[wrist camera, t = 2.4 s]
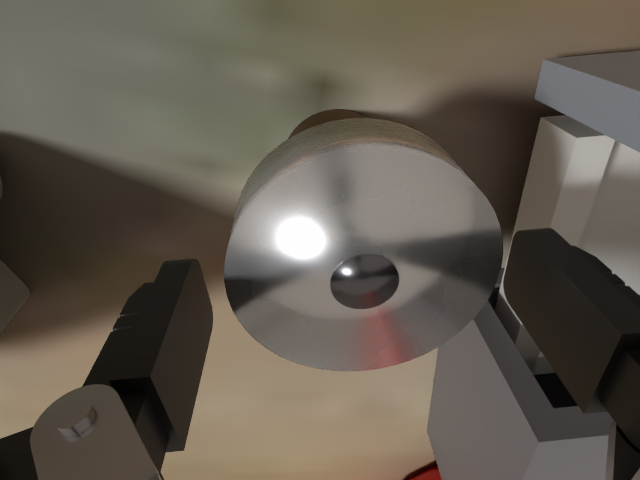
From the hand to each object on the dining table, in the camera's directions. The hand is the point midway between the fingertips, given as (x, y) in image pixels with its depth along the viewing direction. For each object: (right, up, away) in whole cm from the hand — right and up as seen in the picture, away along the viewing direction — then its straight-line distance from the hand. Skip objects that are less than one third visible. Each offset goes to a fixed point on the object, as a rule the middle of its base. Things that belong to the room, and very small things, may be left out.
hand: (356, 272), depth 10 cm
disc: (0, +1, +1) cm, 1 cm away
